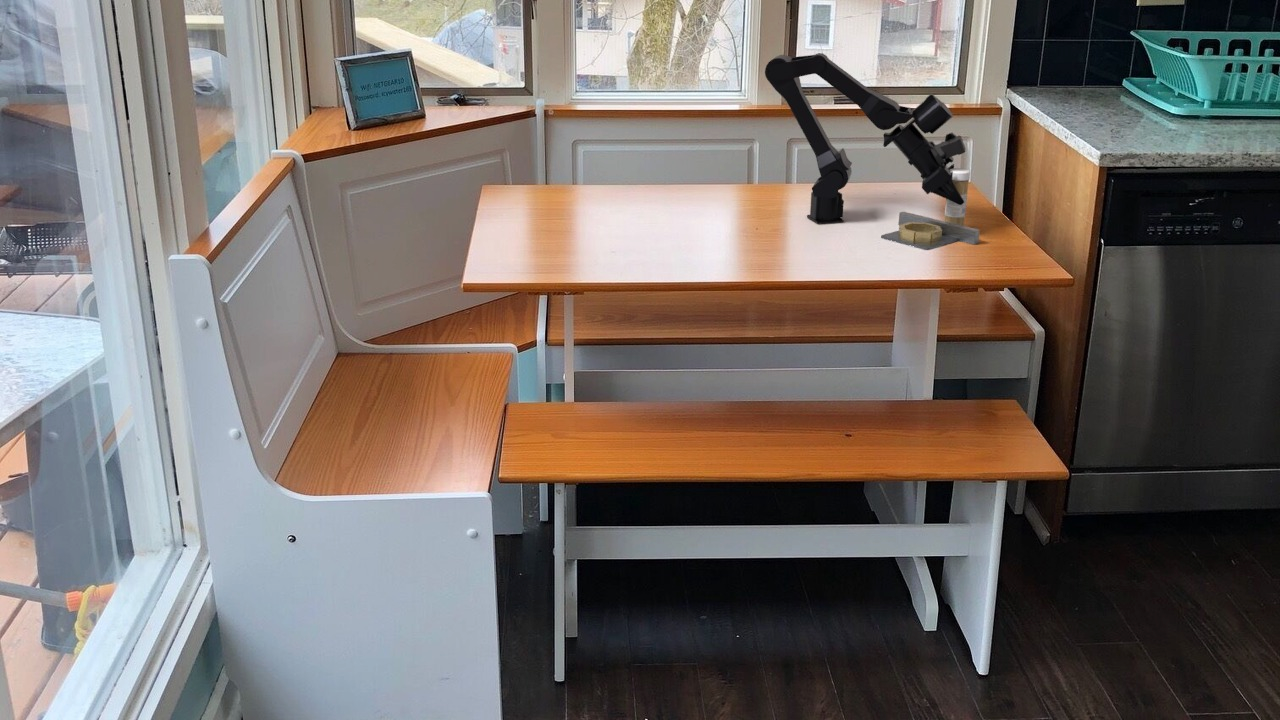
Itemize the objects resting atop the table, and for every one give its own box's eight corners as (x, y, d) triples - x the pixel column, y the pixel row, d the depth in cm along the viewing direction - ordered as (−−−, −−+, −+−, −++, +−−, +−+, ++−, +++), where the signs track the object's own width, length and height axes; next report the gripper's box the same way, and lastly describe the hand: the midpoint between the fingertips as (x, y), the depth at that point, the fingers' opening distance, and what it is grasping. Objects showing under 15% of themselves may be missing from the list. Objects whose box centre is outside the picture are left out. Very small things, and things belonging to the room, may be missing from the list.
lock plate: (866, 234, 263) (867, 220, 262) (902, 224, 271) (903, 211, 270) (942, 254, 249) (943, 240, 248) (978, 243, 257) (979, 229, 256)
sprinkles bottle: (951, 226, 270) (957, 166, 265) (968, 230, 267) (974, 170, 262) (938, 229, 267) (944, 169, 262) (955, 233, 264) (961, 173, 259)
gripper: (943, 131, 251) (992, 186, 252) (947, 115, 268) (993, 168, 269) (901, 166, 256) (949, 220, 257) (908, 148, 273) (953, 200, 274)
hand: (962, 201), depth 264 cm, fingers closed on sprinkles bottle, 4 cm apart
